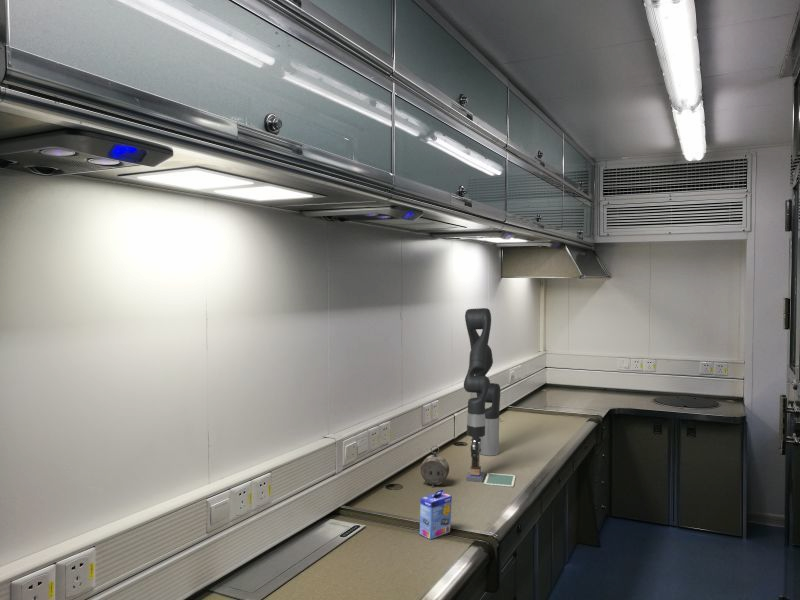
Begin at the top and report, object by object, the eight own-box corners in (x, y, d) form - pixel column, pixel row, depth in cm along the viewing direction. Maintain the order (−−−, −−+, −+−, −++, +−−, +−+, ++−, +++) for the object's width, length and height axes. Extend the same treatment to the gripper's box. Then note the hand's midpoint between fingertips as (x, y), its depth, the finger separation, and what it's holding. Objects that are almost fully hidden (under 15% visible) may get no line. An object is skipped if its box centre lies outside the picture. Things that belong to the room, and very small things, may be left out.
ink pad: (468, 474, 266) (468, 470, 266) (484, 475, 264) (484, 471, 264) (466, 480, 258) (466, 476, 258) (482, 482, 256) (482, 477, 256)
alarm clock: (449, 485, 252) (449, 444, 251) (446, 489, 246) (447, 448, 246) (422, 482, 255) (422, 442, 254) (419, 486, 249) (419, 446, 249)
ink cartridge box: (431, 540, 198) (431, 494, 198) (418, 535, 202) (419, 490, 202) (451, 532, 205) (452, 487, 205) (439, 527, 209) (439, 483, 209)
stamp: (470, 471, 265) (471, 446, 264) (481, 472, 263) (481, 447, 263) (468, 475, 259) (469, 450, 258) (479, 476, 258) (480, 451, 257)
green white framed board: (487, 473, 267) (487, 472, 267) (515, 476, 264) (515, 475, 264) (483, 484, 253) (483, 483, 253) (513, 487, 250) (513, 486, 250)
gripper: (469, 419, 268) (468, 460, 269) (464, 427, 254) (463, 469, 255) (487, 420, 266) (486, 461, 267) (483, 428, 253) (482, 471, 253)
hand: (475, 465), depth 261 cm, fingers closed on stamp, 3 cm apart
